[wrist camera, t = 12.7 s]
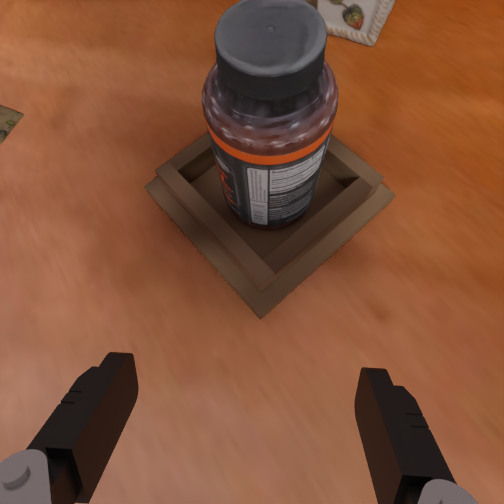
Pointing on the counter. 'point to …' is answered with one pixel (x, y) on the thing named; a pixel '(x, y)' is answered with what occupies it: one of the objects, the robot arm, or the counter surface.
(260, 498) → the counter surface
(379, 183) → the walnut tray
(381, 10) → the decorative jar
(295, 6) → the supplement bottle
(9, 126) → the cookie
